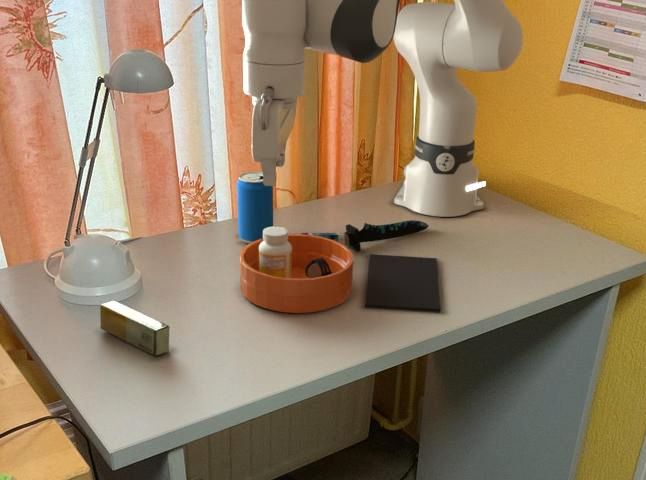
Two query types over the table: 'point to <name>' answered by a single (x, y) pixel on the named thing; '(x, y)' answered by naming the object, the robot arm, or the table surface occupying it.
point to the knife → (373, 233)
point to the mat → (403, 283)
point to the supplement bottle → (275, 253)
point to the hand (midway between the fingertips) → (274, 174)
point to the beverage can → (253, 206)
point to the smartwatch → (317, 268)
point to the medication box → (135, 328)
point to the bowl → (299, 276)
